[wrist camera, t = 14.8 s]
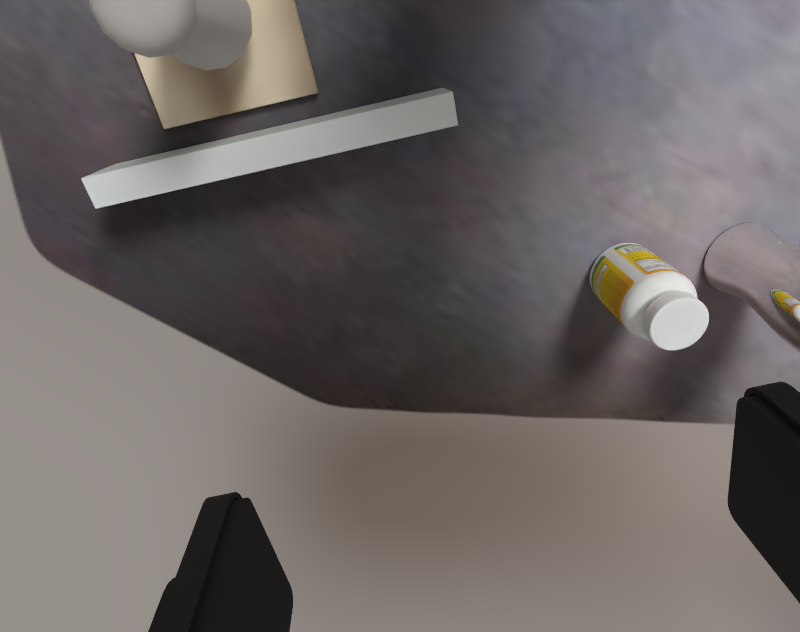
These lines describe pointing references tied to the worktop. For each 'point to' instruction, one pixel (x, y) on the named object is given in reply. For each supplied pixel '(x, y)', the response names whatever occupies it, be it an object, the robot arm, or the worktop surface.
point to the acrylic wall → (272, 147)
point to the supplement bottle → (649, 296)
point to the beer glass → (759, 275)
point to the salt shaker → (178, 28)
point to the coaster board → (236, 71)
